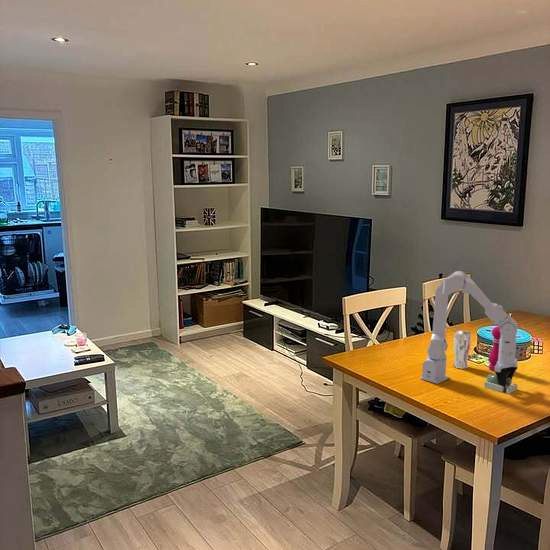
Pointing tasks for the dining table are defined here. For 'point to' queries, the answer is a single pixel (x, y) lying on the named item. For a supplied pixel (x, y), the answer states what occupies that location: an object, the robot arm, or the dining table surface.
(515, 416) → the dining table surface
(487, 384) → the rest
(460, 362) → the pale grey carved column
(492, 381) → the bottle
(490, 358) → the pepper mill
